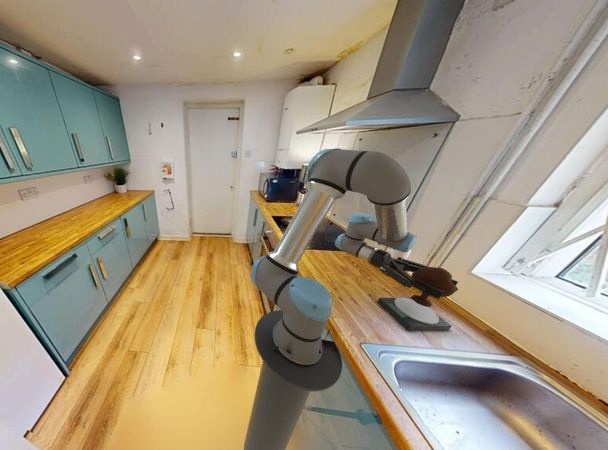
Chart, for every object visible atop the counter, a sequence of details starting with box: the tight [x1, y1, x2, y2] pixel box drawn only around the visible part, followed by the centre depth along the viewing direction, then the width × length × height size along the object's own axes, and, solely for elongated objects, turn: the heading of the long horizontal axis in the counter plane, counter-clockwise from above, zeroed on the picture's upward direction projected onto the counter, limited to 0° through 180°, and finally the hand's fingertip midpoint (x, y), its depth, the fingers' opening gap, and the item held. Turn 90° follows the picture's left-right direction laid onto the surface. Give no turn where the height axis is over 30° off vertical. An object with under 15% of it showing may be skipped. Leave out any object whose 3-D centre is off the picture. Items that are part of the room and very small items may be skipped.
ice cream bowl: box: [410, 266, 459, 308], centre depth 69 cm, size 11×11×15 cm
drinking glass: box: [384, 248, 412, 275], centre depth 95 cm, size 7×7×15 cm
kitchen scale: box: [377, 297, 452, 332], centre depth 74 cm, size 15×13×3 cm
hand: (448, 290), depth 65 cm, fingers closed on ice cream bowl, 11 cm apart
